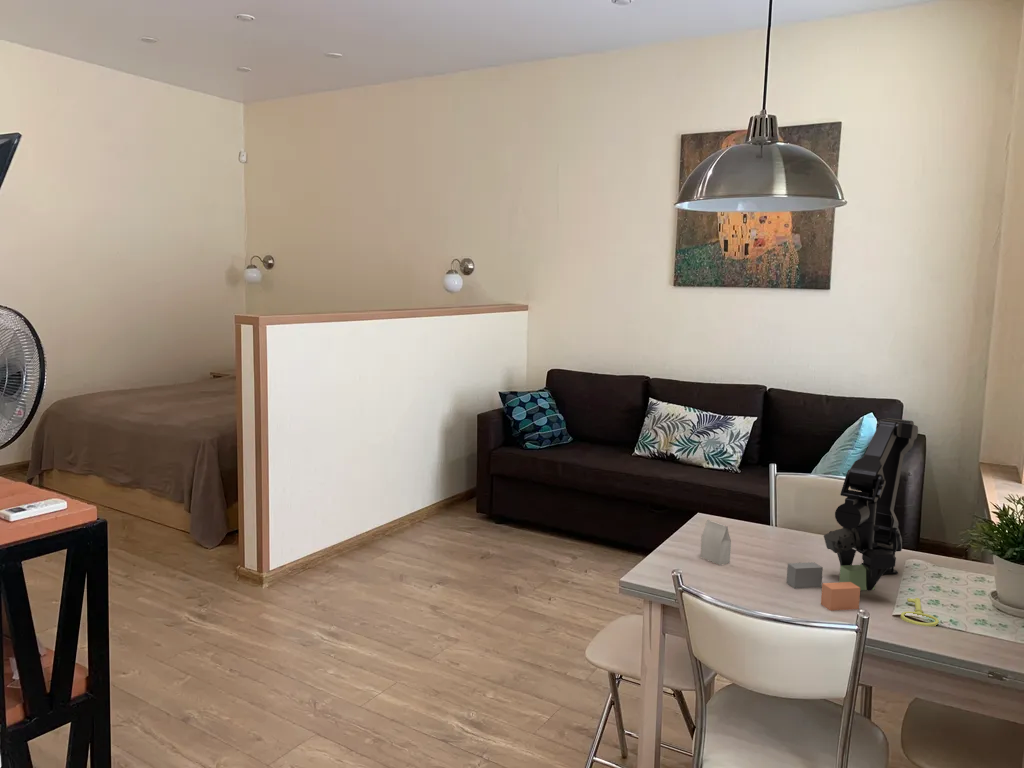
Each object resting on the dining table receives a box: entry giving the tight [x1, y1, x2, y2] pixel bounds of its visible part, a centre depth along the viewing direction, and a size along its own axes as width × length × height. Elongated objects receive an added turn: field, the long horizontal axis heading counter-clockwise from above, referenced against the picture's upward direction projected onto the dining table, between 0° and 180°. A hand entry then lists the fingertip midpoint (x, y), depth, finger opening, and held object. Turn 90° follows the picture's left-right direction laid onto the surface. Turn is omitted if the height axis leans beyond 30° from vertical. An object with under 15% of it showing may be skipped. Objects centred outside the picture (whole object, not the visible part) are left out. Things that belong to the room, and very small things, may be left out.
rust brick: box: [820, 582, 861, 612], centre depth 172 cm, size 7×4×5 cm, turn 100°
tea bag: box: [699, 519, 732, 566], centre depth 200 cm, size 4×7×10 cm, turn 32°
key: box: [900, 597, 940, 627], centre depth 168 cm, size 7×12×2 cm, turn 173°
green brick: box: [838, 564, 876, 591], centre depth 183 cm, size 7×4×5 cm, turn 100°
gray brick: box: [786, 561, 824, 589], centre depth 184 cm, size 7×4×5 cm, turn 100°
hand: (856, 583), depth 183 cm, fingers open, 9 cm apart
